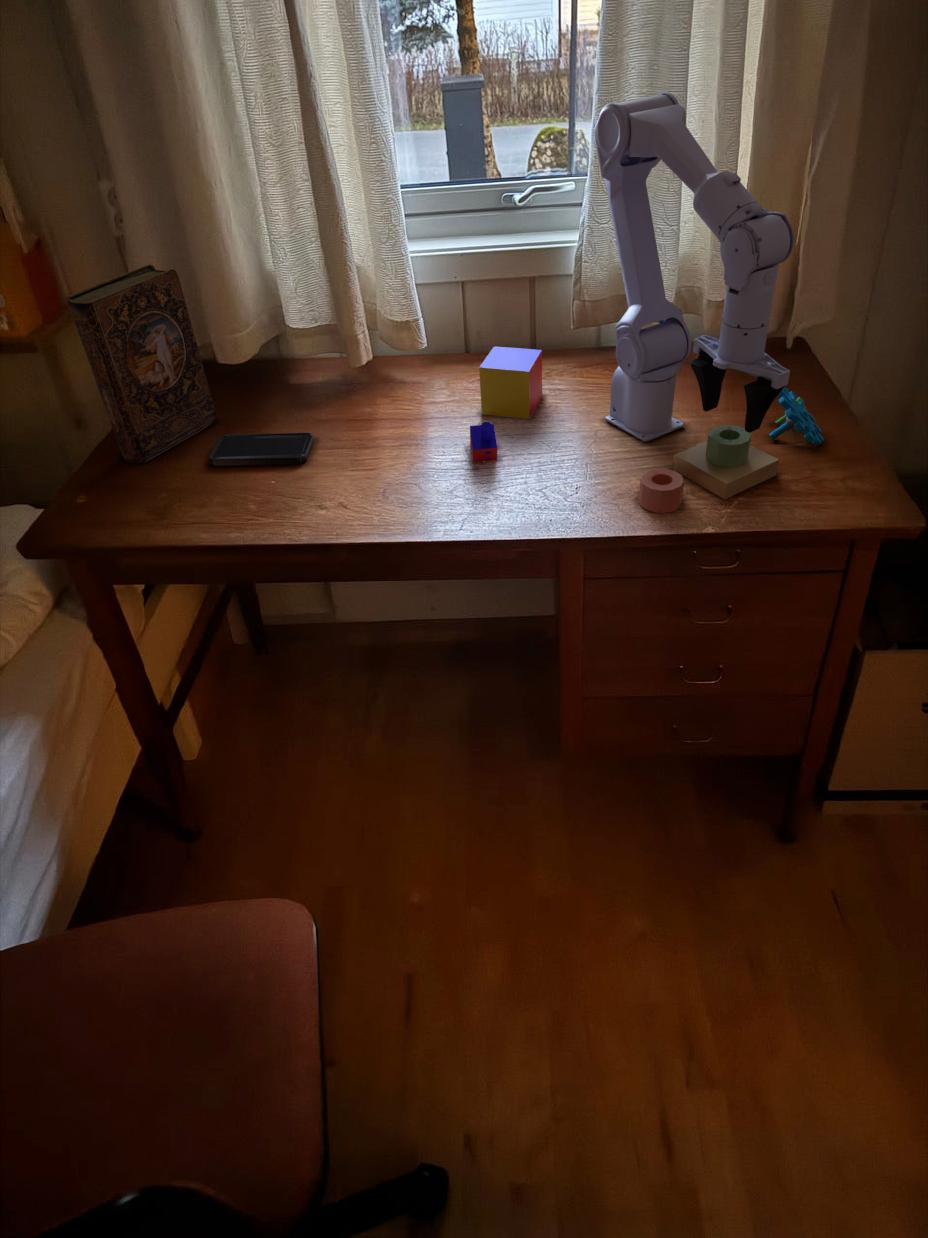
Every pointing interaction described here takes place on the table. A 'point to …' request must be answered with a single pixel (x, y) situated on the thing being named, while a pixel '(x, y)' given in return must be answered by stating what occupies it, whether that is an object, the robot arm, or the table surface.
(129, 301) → the book
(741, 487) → the birch block
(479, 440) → the toy building block
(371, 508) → the table surface
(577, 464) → the table surface
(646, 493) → the coral ring
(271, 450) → the phone
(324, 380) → the table surface
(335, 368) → the table surface
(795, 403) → the gear
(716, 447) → the green ring
